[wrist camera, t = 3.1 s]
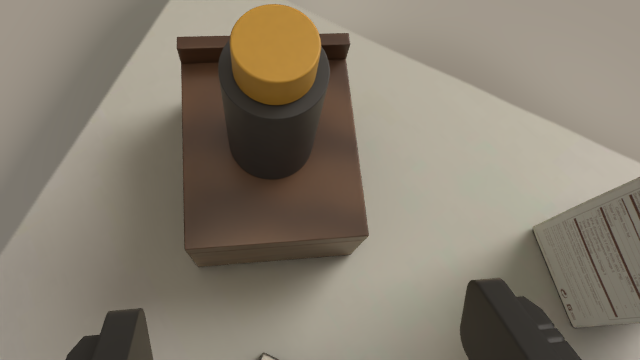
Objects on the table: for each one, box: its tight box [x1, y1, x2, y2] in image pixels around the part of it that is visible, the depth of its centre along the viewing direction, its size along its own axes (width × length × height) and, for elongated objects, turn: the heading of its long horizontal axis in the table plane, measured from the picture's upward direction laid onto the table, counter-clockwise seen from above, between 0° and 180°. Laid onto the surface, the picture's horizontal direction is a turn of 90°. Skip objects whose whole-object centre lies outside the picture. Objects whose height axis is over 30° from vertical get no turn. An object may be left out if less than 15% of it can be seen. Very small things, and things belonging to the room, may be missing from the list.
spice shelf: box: [177, 33, 369, 267], centre depth 32 cm, size 12×10×8 cm
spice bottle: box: [218, 4, 330, 179], centre depth 25 cm, size 5×5×10 cm
